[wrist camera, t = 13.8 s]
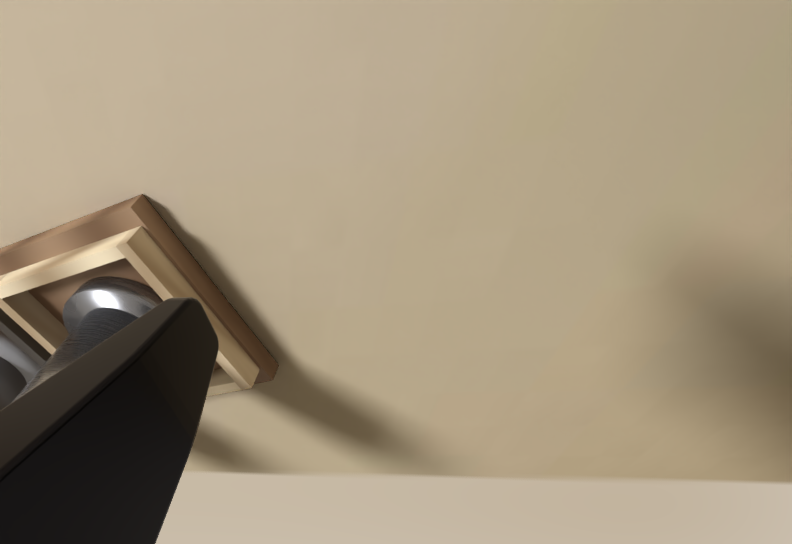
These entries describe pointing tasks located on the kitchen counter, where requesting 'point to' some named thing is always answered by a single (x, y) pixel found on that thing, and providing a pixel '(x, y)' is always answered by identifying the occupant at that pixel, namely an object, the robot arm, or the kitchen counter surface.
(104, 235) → the pin board
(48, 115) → the kitchen counter surface
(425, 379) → the kitchen counter surface
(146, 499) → the robot arm
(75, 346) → the grey cylindrical piece
